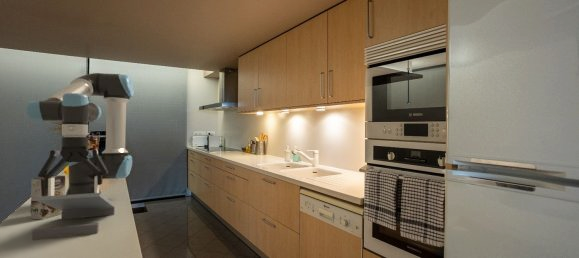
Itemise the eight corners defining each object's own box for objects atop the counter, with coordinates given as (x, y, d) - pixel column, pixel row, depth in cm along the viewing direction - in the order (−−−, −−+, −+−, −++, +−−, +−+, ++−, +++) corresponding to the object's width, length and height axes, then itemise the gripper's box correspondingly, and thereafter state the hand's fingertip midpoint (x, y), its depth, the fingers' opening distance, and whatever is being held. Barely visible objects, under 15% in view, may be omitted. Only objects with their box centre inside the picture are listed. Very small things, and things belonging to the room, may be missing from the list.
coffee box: (42, 219, 108) (43, 179, 108) (29, 218, 110) (30, 178, 110) (65, 212, 117) (66, 175, 117) (53, 211, 119) (53, 174, 119)
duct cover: (62, 211, 110) (62, 208, 110) (114, 207, 116) (114, 204, 116) (35, 200, 91) (36, 196, 91) (99, 196, 97) (99, 192, 97)
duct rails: (63, 218, 111) (63, 210, 111) (114, 213, 117) (114, 206, 117) (32, 239, 89) (32, 230, 89) (97, 233, 95) (97, 224, 95)
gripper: (25, 136, 91) (24, 200, 91) (112, 136, 100) (111, 194, 99) (37, 136, 98) (36, 195, 98) (117, 136, 107) (117, 190, 107)
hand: (74, 195), depth 99 cm, fingers open, 13 cm apart
